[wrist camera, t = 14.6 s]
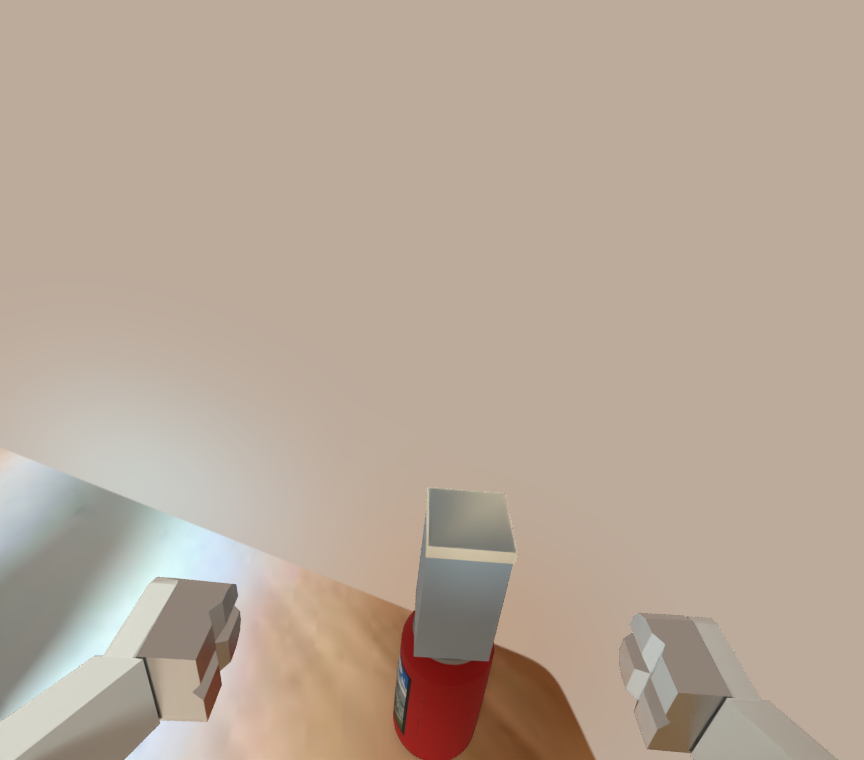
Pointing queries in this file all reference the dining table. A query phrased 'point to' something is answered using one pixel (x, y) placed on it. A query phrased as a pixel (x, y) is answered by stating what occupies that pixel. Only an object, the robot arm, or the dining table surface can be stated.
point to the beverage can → (436, 700)
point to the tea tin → (462, 573)
